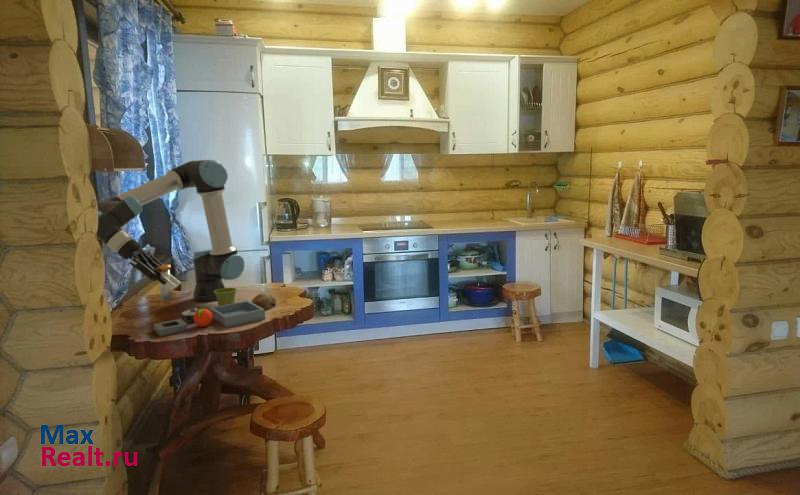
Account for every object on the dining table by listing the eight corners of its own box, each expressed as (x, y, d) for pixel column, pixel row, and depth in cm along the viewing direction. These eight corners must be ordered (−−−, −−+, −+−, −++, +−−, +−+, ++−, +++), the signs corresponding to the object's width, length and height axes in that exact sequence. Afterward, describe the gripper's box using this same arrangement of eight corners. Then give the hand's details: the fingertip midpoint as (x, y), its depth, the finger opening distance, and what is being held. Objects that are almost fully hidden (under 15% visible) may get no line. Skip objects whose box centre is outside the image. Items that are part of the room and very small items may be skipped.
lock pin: (158, 299, 183) (153, 266, 181) (172, 297, 186) (168, 263, 184) (161, 302, 179) (157, 268, 177) (176, 299, 182) (172, 265, 180)
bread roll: (265, 318, 209) (271, 302, 207) (245, 308, 210) (251, 292, 208) (276, 312, 218) (282, 296, 216) (256, 302, 219) (262, 286, 218)
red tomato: (209, 329, 185) (207, 311, 184) (190, 330, 184) (188, 312, 183) (215, 322, 193) (214, 305, 192) (197, 323, 192) (196, 306, 191)
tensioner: (149, 325, 192) (148, 314, 192) (202, 314, 205) (201, 304, 204) (160, 336, 178) (158, 325, 177) (216, 324, 190) (215, 313, 190)
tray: (210, 317, 201) (210, 307, 200) (248, 309, 210) (247, 300, 210) (225, 327, 187) (224, 317, 186) (265, 318, 196) (264, 309, 196)
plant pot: (213, 308, 213) (211, 289, 212) (235, 305, 218) (234, 286, 216) (217, 313, 205) (215, 294, 204) (240, 310, 210) (238, 290, 208)
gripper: (129, 249, 187) (178, 288, 191) (106, 257, 170) (160, 300, 174) (141, 234, 186) (190, 274, 190) (120, 241, 169) (174, 285, 173)
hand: (176, 286), depth 182 cm, fingers closed on lock pin, 4 cm apart
